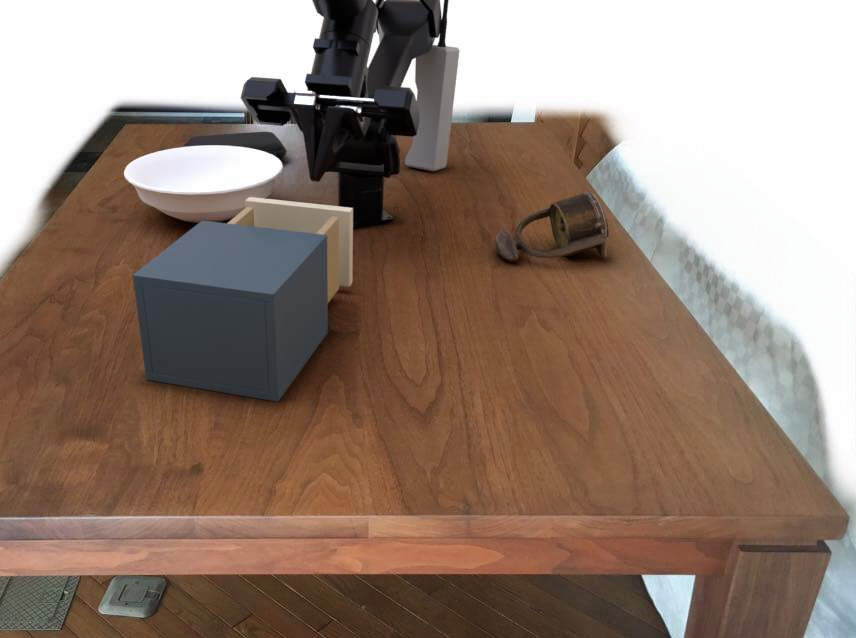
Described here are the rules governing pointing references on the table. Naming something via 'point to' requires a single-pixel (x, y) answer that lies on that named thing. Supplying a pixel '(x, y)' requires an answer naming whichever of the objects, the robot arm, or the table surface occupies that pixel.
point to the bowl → (203, 180)
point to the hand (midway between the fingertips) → (314, 180)
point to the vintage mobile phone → (434, 103)
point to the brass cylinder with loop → (562, 229)
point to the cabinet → (233, 308)
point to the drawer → (309, 230)
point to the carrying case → (243, 142)
